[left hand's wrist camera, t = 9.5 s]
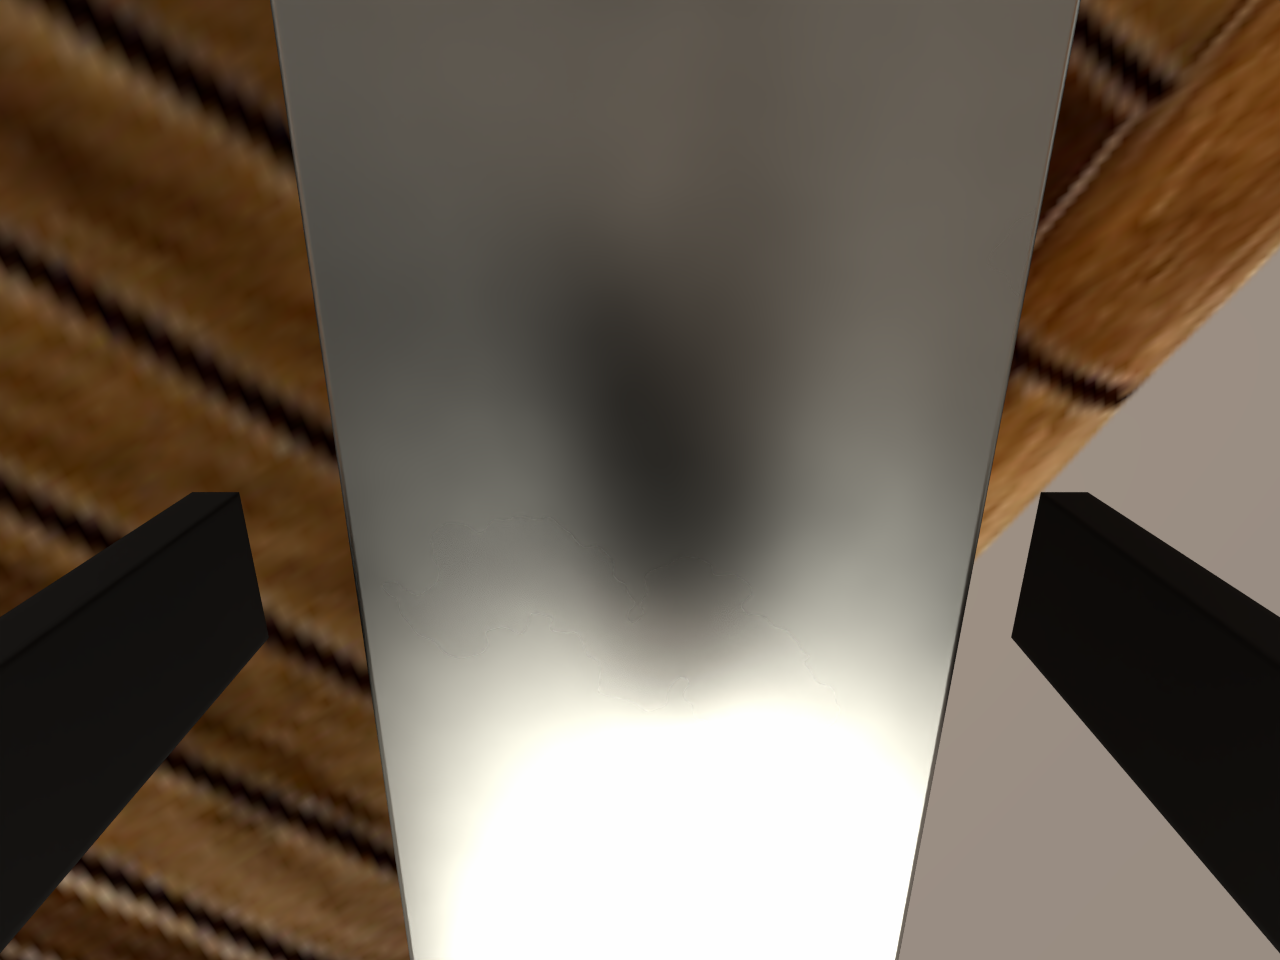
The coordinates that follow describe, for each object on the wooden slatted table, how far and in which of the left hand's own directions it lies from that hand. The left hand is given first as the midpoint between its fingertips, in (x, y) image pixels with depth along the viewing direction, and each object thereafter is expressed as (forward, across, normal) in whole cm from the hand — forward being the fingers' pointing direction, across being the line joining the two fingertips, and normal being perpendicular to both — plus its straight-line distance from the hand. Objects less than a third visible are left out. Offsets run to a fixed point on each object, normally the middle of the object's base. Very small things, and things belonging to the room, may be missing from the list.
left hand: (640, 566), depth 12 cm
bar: (+3, 0, -8) cm, 9 cm away
